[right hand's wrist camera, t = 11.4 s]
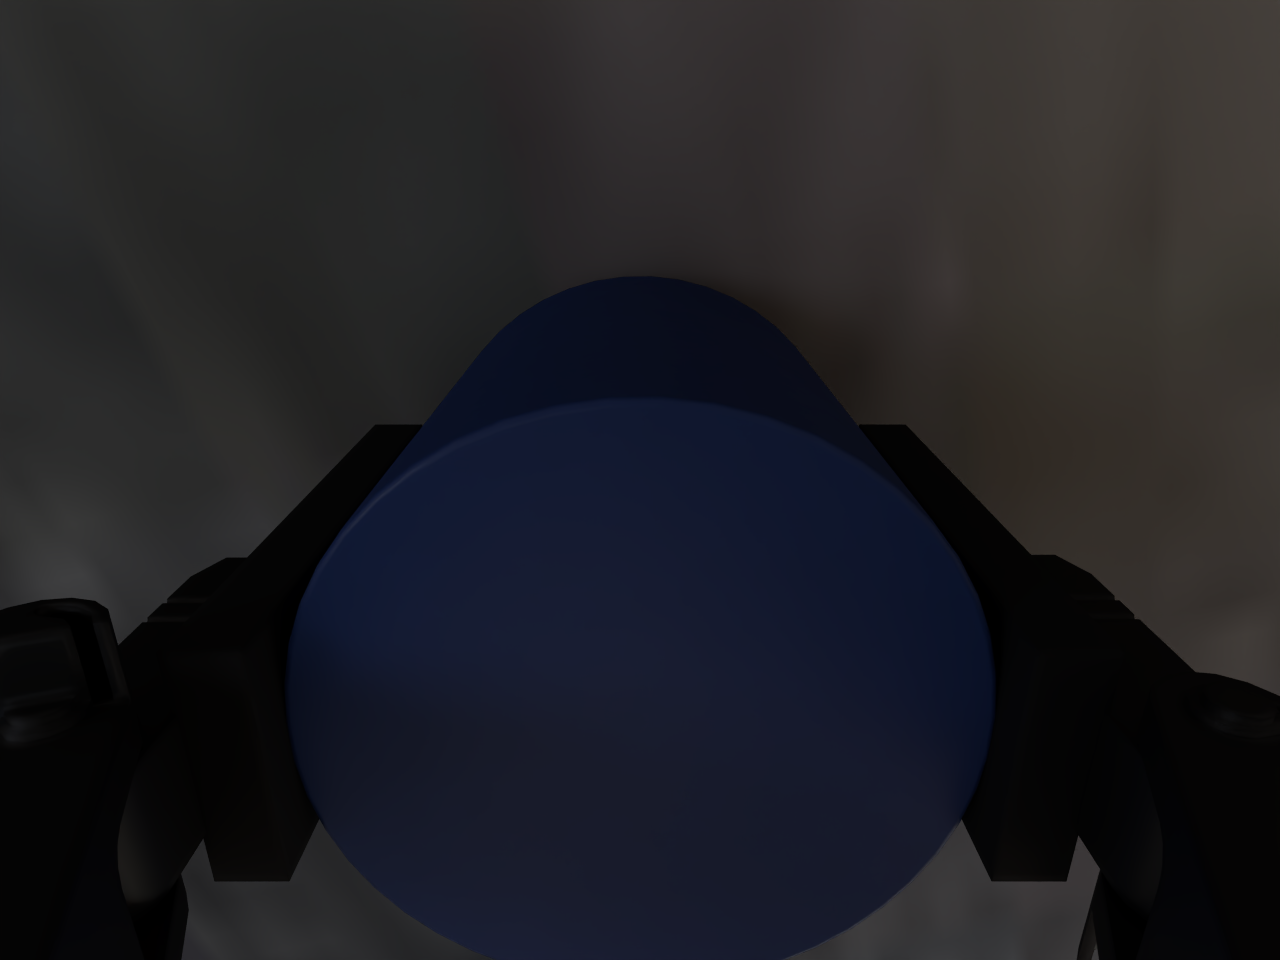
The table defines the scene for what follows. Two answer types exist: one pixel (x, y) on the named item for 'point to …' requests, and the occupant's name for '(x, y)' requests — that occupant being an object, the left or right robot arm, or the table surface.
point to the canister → (640, 649)
